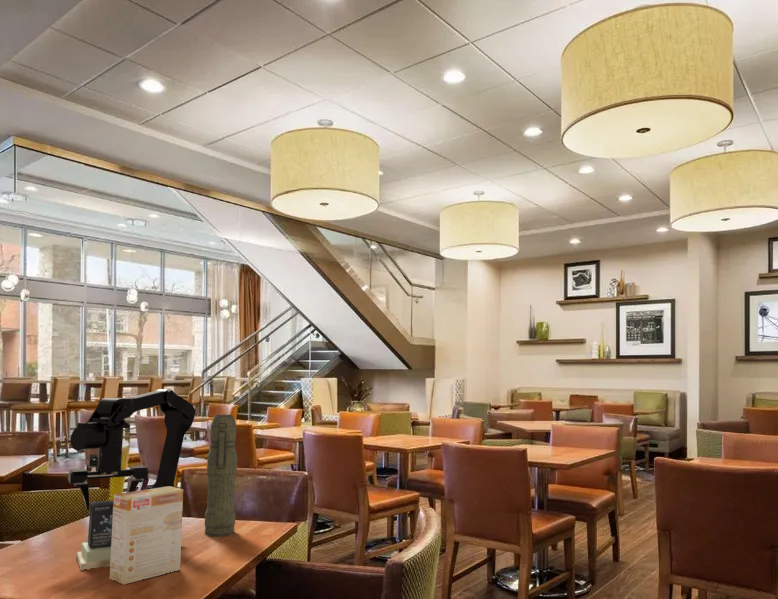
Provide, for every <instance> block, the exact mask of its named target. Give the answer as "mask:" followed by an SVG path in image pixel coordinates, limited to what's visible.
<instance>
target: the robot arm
mask: <svg viewBox="0 0 778 599" xmlns="http://www.w3.org/2000/svg"><path fill="white" fill-rule="evenodd" d="M153 407H158V408H159V411H160V412H161V413H162V414H163V415H164V416H163V418H164V419H163V423H164V425H165V429H166V436H165V440H164V445H163V448H162V452H161V458H160V462H159V465H158V469H157V475H156V480H155V482H154V483H153V484H152V486H148V487H146V489H145V490H147V489H154V488H160V487H167V486H171V487H175V479H176V474H177V471H178V466H179V461H180V456H181V452H182V447H183V442H184V438H185V435H186V433H187V432H188V430H189V429H190V428H191V427H192V426H193V423H194V420H195V417H196V409H195V407H194V405H193V404H192V403H191V402H189V401H188V400H187V399H185V398H183V397H182V396H180V395H178V394H177V393H176V392H175V391H174V390H172V389H169V388H165V389H164V388H159V389H156V390H154V391H153V390H152V391H150V392H149V391H148V392H144V393H140V394H137V395H133V396H129V397H104V398H101V399H100V400H99V402H98V404H97V406H96V408H95V409H94V411H93V412H92V413H91V415H90V417H89V418H88V420H87V422H77V425H76V428H74V430H72V432H71V435H70V437H69V438H70V439H69V440H70V446H71V448H72V449H73V450H74V451H88V450H95V449H98V452H97V453H98V454H89V455H88V461H87V462H88V463H87V464H88V466H87V467H88V469H92V468H94V469H95V471H94V470H93V471H92V470H91V471H88V470H87V469H86V468H74V469H70V470H68V476H67V480H68V482H69V484H73V485H74V486H75V487H77V488H79V489H80V492H81V493H82V494H81V495H82V497H83V501H84V504H85V508H86V511H90V490H89V489H90V488H89V486H90V485H89V482H87V481H88V480H93V479H95V480H96V479H110V478H125V477H127V485H126V486H127V487H126V492H125V493H127V492H134V491H136V488H137V487H138V485H139V484H140V483H143V482H144V480H145V479H149V474H150V473H149V468H147V467H146V465H140V464H139V465H130V466H129V468H128V469H126V468H125V469H122V460H123V441H124V429H129V428H130V427H131V425H130V424H129V423H127V422H126V419H128V418H130V417H131V416H132V415H134V414H135V413H136V412H138V411H143V410H146V409H150V408H153ZM183 514H184V512H183V510H182V515H183Z"/></svg>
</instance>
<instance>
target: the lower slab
mask: <svg viewBox="0 0 778 599" xmlns="http://www.w3.org/2000/svg"><path fill="white" fill-rule="evenodd" d="M75 558H77V559H76V561H77V564H78V563H79V564H78V566H80V567H79V569H80V571H85V570H84V569H87V570H91V569H90V568H95V569H101V568H100V567H103V568H109V567H108V566H110V560H104V561H96V562H88V563H87V562H86V561H85V559H84V557H83V555H82V553H81V551H77V552H76V556H75ZM98 567H99V568H98Z"/></svg>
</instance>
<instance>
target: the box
mask: <svg viewBox="0 0 778 599" xmlns="http://www.w3.org/2000/svg"><path fill="white" fill-rule="evenodd" d="M88 518H89V520H88V534H87V542H88V545H89V547H90V548H96V547H105V546H111V540H112V519H113V500H105V501H104V500H103V501H102V500H101V501H91V502H89V517H88Z"/></svg>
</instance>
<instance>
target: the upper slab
mask: <svg viewBox="0 0 778 599" xmlns="http://www.w3.org/2000/svg"><path fill="white" fill-rule="evenodd" d="M80 552H81V553H82V555H83V557H84V559H85V561H86V562H87V563H88V562H96V561H104V560H111V546H105V547H96V548H90V547H89V545H88V541H87V542H85V541H84V542H81V551H80Z"/></svg>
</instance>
